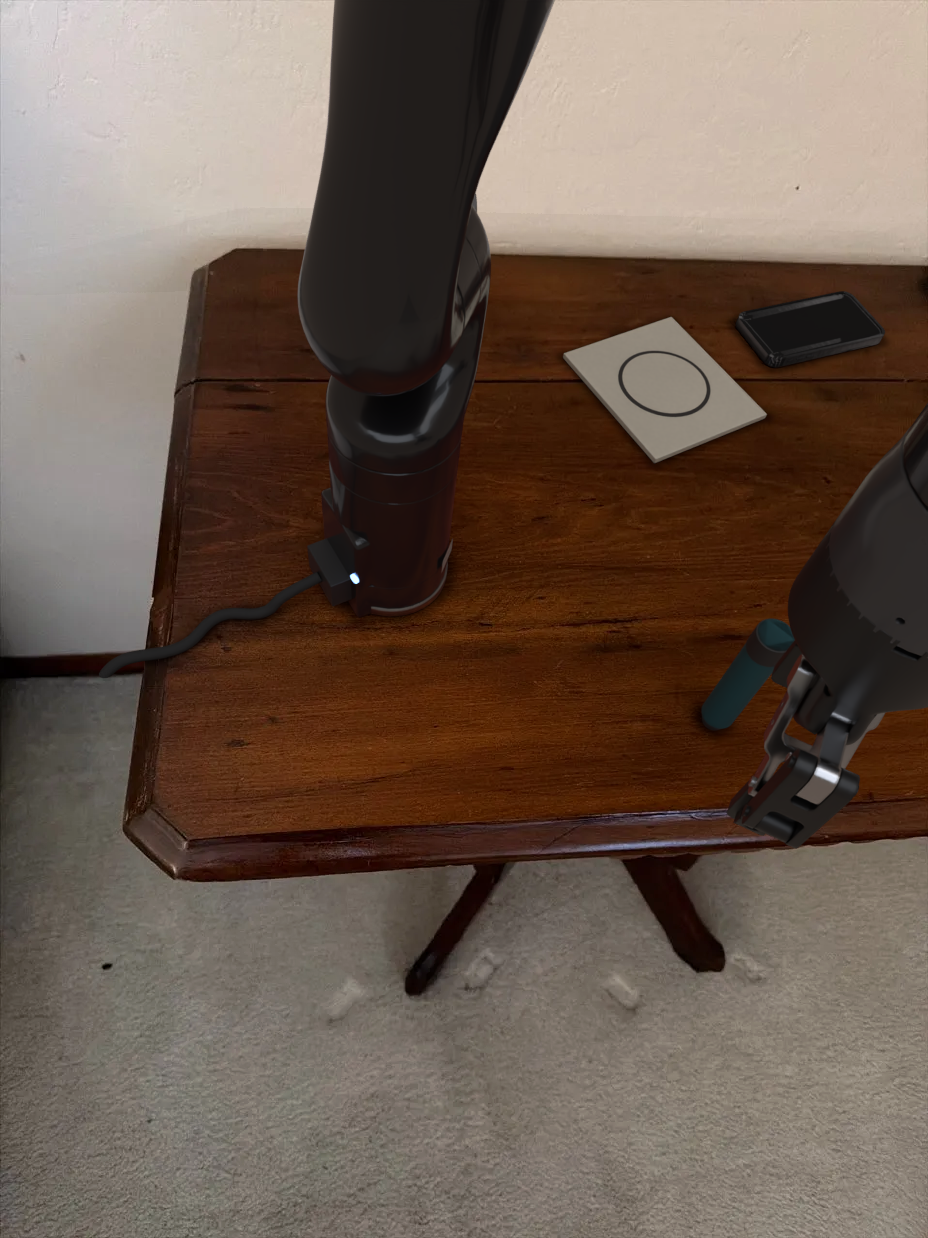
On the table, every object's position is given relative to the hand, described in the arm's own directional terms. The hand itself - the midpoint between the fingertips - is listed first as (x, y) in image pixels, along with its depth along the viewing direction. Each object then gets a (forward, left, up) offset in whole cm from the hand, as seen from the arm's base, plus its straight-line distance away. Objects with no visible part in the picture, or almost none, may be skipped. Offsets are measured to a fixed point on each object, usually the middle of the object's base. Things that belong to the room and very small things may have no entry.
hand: (769, 748), depth 46 cm
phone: (+49, +39, -20) cm, 66 cm away
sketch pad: (+29, +39, -20) cm, 53 cm away
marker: (+10, +7, -20) cm, 24 cm away
